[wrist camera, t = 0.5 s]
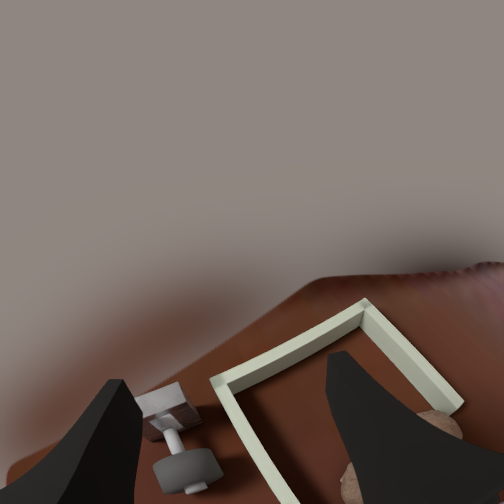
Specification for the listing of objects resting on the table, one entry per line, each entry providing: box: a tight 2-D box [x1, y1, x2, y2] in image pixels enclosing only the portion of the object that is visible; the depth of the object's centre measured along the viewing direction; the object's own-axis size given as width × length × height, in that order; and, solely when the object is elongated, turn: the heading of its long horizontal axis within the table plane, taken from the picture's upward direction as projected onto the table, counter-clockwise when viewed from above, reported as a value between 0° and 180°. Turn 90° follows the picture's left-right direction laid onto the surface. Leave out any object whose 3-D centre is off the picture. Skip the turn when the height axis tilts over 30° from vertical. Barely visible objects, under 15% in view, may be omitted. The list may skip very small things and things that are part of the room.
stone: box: [340, 410, 463, 504], centre depth 15 cm, size 12×9×10 cm
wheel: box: [153, 428, 224, 494], centre depth 19 cm, size 6×5×5 cm
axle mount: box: [134, 382, 203, 442], centre depth 23 cm, size 2×6×6 cm, turn 117°
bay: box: [210, 298, 464, 504], centre depth 24 cm, size 16×18×3 cm
